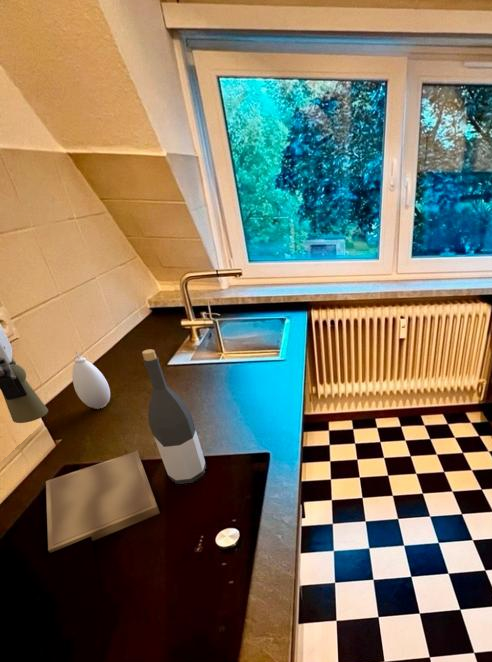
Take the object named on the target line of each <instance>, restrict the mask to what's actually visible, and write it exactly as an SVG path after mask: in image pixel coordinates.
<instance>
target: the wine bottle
mask: <svg viewBox="0 0 492 662" xmlns="http://www.w3.org/2000/svg"><path fill="white" fill-rule="evenodd" d="M141 355H142V357H143V359H142V361H143V364H144V366H145V369H146V372H147V375H148V378H149V380H150V383H151V387H152V392H151V397H150V400H149V403H148V411H147V412H148V413H147V417H148V418H147V419H148V426H149V428H150V431H151V433H152V436H153V438H154V441H155V444H156V446H157V447H156V448H157V449H158V452H159V455H160V457H161V460H162V463H163V466H164V468H165V471H166V473H167V476H168V478H169V480H170V479H171V480H172V481H171V480H170V481H171V482H173V481H174V482H175V483H174V482H173V483H174V484H176V483H177V484H184V483H185V485H187V484H186V483H193V482H194V481H196V480H197V479H199V478H200V477H202V476H203V475H204V473H205V474H206V471H205V469H206V470H207V464H206V460H205V456H204V453H203V449H202V446H201V442H200V438H199V436H198V433H197V429H196V425H195V422H194V419H193V416H192V412H191V410H190V409H189V407H188V405H187V403H185V401H184V400H183V399H182V398H181V397H180V396H179V395H178V394H177V393H176V392H175V391H173V390H172V389H171V388H170V387H169V386H168V385H167V382H166V378H165V375H164V372H163V369H162V367H161V363H160V358H159V356H157V353H156V350H155V349H145V350H143V351H142V353H141ZM204 476H205V475H204ZM204 476H203V477H204ZM203 477H202V478H203ZM200 479H201V478H200ZM200 479H199V480H200ZM197 481H198V480H197ZM197 481H196V482H197ZM194 483H195V482H194ZM194 483H193V484H194ZM177 484H176V485H177Z"/></svg>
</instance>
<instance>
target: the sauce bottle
mask: <svg viewBox="0 0 492 662" xmlns="http://www.w3.org/2000/svg"><path fill="white" fill-rule="evenodd" d="M74 352H75V354H76V356H77V357H76V358H74V361H73V362H74V364H73V367H72V384H73V387H74V391H75V393H76V395H77V397H78V398H79V400H81V402H82V403H83V404H85V405H86V406H87V407H89V408H91V409H96V410H100V408H101V409H103V408H104V407H106V406H107V404H109V403H110V400H111V389H110V386H109V383H108V381H107V379H106V378H105V375H104V374H103V373H102V372H101V370H99V368H97V366H96V365H94V364H93V363H91V362H90V361H89V360H87V359H86V357H83V356H80V355H79V352H78V350H77V349H74Z"/></svg>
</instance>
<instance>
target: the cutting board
mask: <svg viewBox="0 0 492 662" xmlns="http://www.w3.org/2000/svg"><path fill="white" fill-rule="evenodd" d="M45 495H46V499H45V500H46V519H47V520H46V525H47V526H46V527H47V529H46V530H47V551H48V552H49V553H54V552H56V551H59V550H61V549H63V548H65V547H68V546H71V545H73V544H76V543H78V542H81V541H83V540H85V539H87V538H89V537H91V542H95V541H97V540H99V539H101V538H104V537H106V536H108V535H111V534H114V533H116V532H118V531H121V530H123V529H125V528H128V527H130V526H133V525H134V524H135V525H136V524H138V523H140V522H142V521H145V520H147V519H149V518H153V517H155V516H157V515H159V514H160V513H161V512H160V509H159V506H158V503H157V501H156V498H155V495H154V493H153V489H152V487H151V484H150V482H149V479H148V476H147V473H146V471H145V468H144V465H143V462H142V459H141V457H140V455H139V452H138V450H136V451H132V452H130V453H126V454H124V455H121V456H118V457H115V458H112V459H108V460H106V461H102V462H99V463H96V464H94V465H90V466H87V467H84V468H81V469H78V470H75V471H71V472H69V473H65V474H63V475H61V476H57V477H53V478H51V479H48V480H45Z"/></svg>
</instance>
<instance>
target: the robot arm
mask: <svg viewBox="0 0 492 662" xmlns="http://www.w3.org/2000/svg"><path fill="white" fill-rule="evenodd" d="M10 364H15V365H17V363H16V361H15V359H14V358H13V347H12V345H11V342H10V340H9V338H8V336H7V334H6V332H5V330H4V327H3V326H2V324H1V323H0V391H1V393H2V395H3V394H4V396H5V398H6V399H7V400H11V399H15V398H19V397H24V396H26V395H27V393H26V391H25V389H24V387H23V385H22V384H21V382H20V380H19V378H18V377H15V375H14V373H13V370H12V368H11V366H10ZM5 366H6V368H7V370H8V371H7V370H6V369H3V368H2V367H5ZM4 396H3V397H4Z"/></svg>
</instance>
